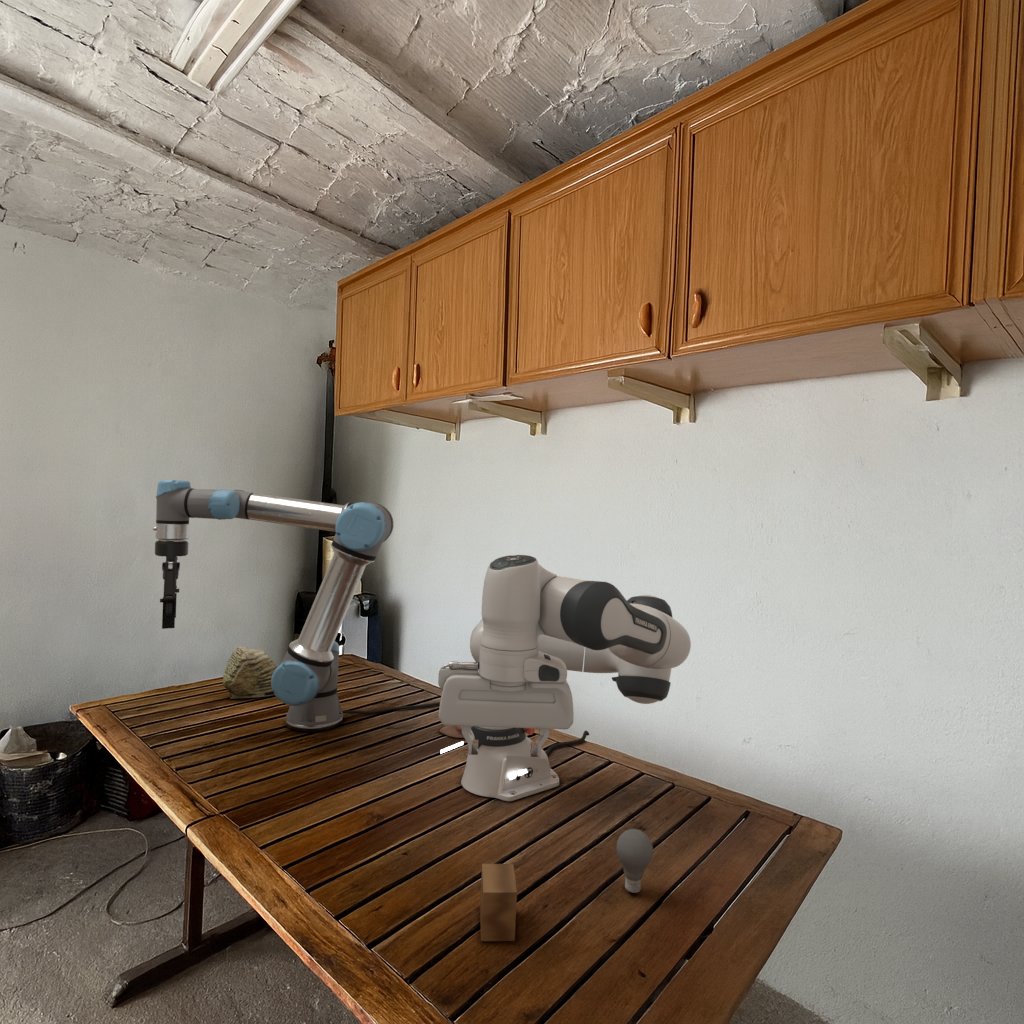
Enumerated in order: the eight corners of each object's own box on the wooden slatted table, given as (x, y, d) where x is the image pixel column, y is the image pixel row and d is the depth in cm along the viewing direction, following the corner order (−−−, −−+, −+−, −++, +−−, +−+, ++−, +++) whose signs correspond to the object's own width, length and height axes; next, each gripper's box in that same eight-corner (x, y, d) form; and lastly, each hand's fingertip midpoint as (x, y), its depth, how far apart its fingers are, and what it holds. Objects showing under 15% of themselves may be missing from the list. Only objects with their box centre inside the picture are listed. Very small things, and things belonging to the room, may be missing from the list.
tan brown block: (481, 941, 92) (483, 892, 92) (479, 909, 99) (481, 863, 99) (514, 941, 92) (517, 892, 92) (511, 909, 100) (513, 863, 100)
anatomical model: (436, 720, 170) (448, 707, 182) (435, 735, 170) (448, 721, 182) (483, 726, 168) (493, 712, 179) (483, 741, 168) (493, 726, 179)
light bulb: (610, 879, 108) (613, 822, 108) (644, 879, 109) (647, 822, 109) (619, 902, 102) (622, 840, 102) (655, 901, 103) (658, 840, 103)
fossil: (218, 695, 195) (220, 647, 195) (278, 685, 208) (279, 640, 207) (228, 703, 189) (230, 653, 188) (289, 692, 201) (290, 645, 201)
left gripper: (157, 536, 171) (154, 614, 172) (152, 544, 149) (149, 633, 149) (188, 536, 175) (186, 613, 175) (188, 544, 152) (185, 632, 153)
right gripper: (437, 666, 92) (433, 760, 92) (577, 671, 93) (573, 765, 93) (440, 655, 98) (437, 744, 98) (572, 660, 99) (568, 748, 99)
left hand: (169, 623), depth 162 cm, fingers open, 13 cm apart
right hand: (504, 754), depth 96 cm, fingers open, 8 cm apart
